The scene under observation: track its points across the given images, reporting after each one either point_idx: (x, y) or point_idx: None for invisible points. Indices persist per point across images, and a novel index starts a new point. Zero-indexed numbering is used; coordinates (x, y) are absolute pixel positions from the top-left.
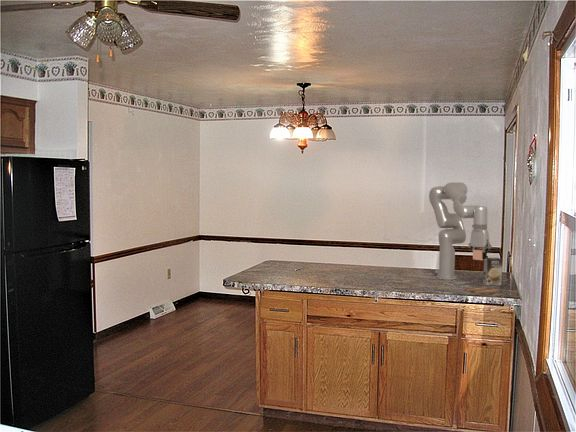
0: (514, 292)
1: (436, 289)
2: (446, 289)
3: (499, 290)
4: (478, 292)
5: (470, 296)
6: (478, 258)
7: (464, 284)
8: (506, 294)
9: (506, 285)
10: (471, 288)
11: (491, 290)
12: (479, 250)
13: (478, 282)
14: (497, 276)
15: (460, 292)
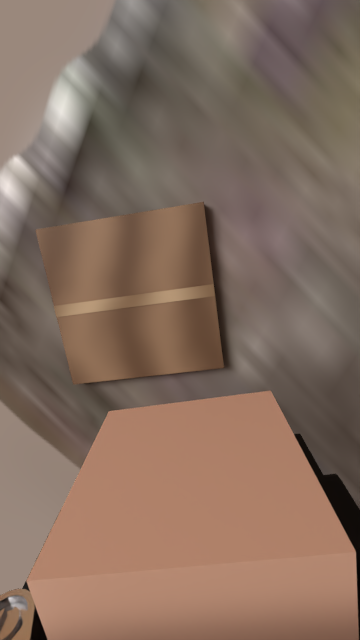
0: (51, 442)
1: (347, 20)
2: (303, 107)
3: (72, 375)
4: (90, 221)
5: (55, 110)
6: (152, 419)
7: (350, 356)
8: (26, 368)
9: None
10: (189, 257)
11: (89, 331)
12: (128, 608)
13: (341, 473)
14: None
15: (179, 136)
